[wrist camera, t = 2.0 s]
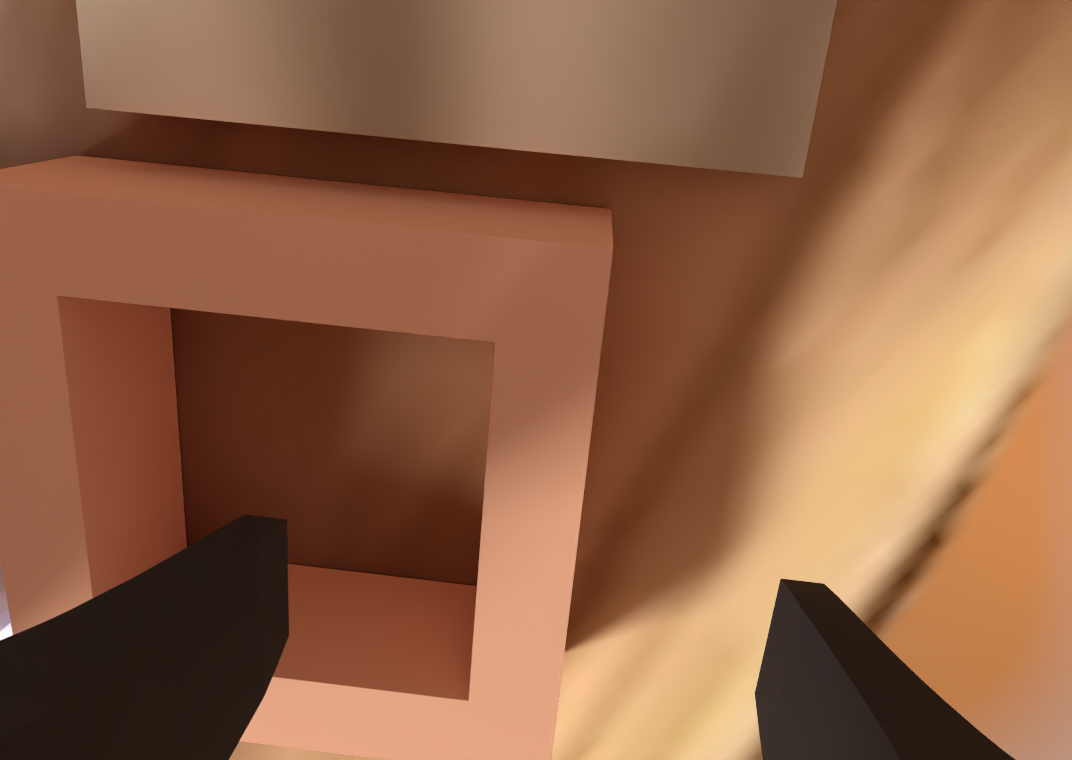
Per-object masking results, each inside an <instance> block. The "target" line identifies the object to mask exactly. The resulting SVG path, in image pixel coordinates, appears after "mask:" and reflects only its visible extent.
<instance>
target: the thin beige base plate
mask: <svg viewBox="0 0 1072 760" xmlns="http://www.w3.org/2000/svg"><path fill="white" fill-rule="evenodd" d="M836 5H837V0H76V7H77V17H78V27H79V37H80V48H81V58H82V68H83V78H84V89H85V99H86V108H93V109H104V110H114V111H124V112H134V113H145V114H155V115H165V116H175V117H185V118H196V119H206V120H216V121H226V122H236V123H247V124H257V125H267V126H277V127H287V128H298V129H308V130H318V131H328V132H338V133H349V134H359V135H369V136H379V137H390V138H400V139H410V140H420V141H430V142H441V143H451V144H461V145H471V146H481V147H492V148H502V149H512V150H522V151H532V152H543V153H553V154H563V155H573V156H583V157H594V158H604V159H614V160H624V161H634V162H645V163H655V164H665V165H675V166H686V167H696V168H706V169H716V170H726V171H737V172H747V173H757V174H767V175H777V176H788V177H798V178H803V173H804V168H805V163H806V158H807V153H808V148H809V143H810V138H811V133H812V127H813V122H814V117H815V112H816V107H817V102H818V97H819V92H820V87H821V82H822V76H823V71H824V66H825V61H826V56H827V51H828V46H829V41H830V36H831V31H832V25H833V20H834V15H835V10H836Z"/></svg>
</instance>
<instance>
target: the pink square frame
mask: <svg viewBox="0 0 1072 760" xmlns="http://www.w3.org/2000/svg"><path fill="white" fill-rule="evenodd" d="M612 256H613V232H612V213H611V209H607V208H597V207H587V206H577V205H567V204H557V203H547V202H537V201H527V200H517V199H507V198H497V197H487V196H477V195H467V194H457V193H447V192H437V191H427V190H417V189H407V188H397V187H387V186H377V185H367V184H357V183H347V182H337V181H327V180H317V179H307V178H297V177H287V176H277V175H267V174H257V173H247V172H237V171H227V170H217V169H207V168H197V167H188V166H178V165H168V164H158V163H148V162H138V161H128V160H118V159H108V158H98V157H88V156H78V155H76V156H70V157H65V158H59V159H53V160H48V161H42V162H37V163H31V164H26V165H20V166H14V167H9V168H3V169H0V559H1V565H2V571H3V578H4V584H5V590H6V596H7V602H8V609H9V615H10V621H11V627H12V633H13V635H14V634H17V633H19V632H22V631H24V630H27V629H29V628H31V627H34V626H36V625H38V624H40V623H43V622H45V621H47V620H49V619H52V618H54V617H56V616H58V615H60V614H62V613H64V612H67V611H69V610H71V609H73V608H75V607H77V606H79V605H81V604H83V603H84V602H86V601H88V600H90V599H92V598H94V597H96V596H98V595H100V594H102V593H104V592H106V591H108V590H110V589H112V588H114V587H116V586H118V585H120V584H122V583H124V582H126V581H128V580H130V579H131V578H133V577H135V576H137V575H139V574H141V573H142V572H144V571H146V570H148V569H150V568H151V567H153V566H155V565H157V564H158V563H160V562H162V561H164V560H166V559H167V558H169V557H171V556H173V555H174V554H176V553H178V552H180V551H182V550H183V549H185V548H187V542H186V528H185V513H184V499H183V485H182V470H181V456H180V441H179V427H178V412H177V398H176V384H175V369H174V355H173V340H172V326H171V311H170V308H177V309H187V310H196V311H206V312H215V313H224V314H234V315H243V316H252V317H262V318H271V319H281V320H290V321H299V322H309V323H318V324H327V325H337V326H346V327H355V328H365V329H374V330H384V331H393V332H402V333H412V334H421V335H430V336H440V337H449V338H459V339H468V340H477V341H487V342H495V350H494V363H493V377H492V390H491V404H490V417H489V431H488V444H487V458H486V472H485V485H484V499H483V512H482V526H481V539H480V553H479V566H478V580H477V586H472V585H463V584H455V583H446V582H438V581H429V580H421V579H412V578H404V577H395V576H387V575H378V574H370V573H361V572H353V571H345V570H336V569H328V568H319V567H311V566H302V565H294V564H288V602H289V637H288V639H287V642H286V645H285V647H284V650H283V652H282V655H281V657H280V660H279V662H278V665H277V668H276V670H275V672H274V675H273V677H272V679H271V682H270V684H269V687H268V689H267V691H266V694H265V696H264V698H263V700H262V701H261V703H260V705H259V707H258V709H257V711H256V712H255V714H254V716H253V718H252V719H251V721H250V723H249V725H248V727H247V728H246V730H245V732H244V734H243V735H242V737H241V739H240V741H243V742H251V743H259V744H267V745H275V746H283V747H290V748H298V749H306V750H314V751H322V752H330V753H338V754H346V755H354V756H362V757H370V758H378V759H386V760H551V759H552V751H553V743H554V735H555V726H556V718H557V710H558V702H559V693H560V685H561V677H562V669H563V660H564V652H565V644H566V636H567V627H568V619H569V611H570V603H571V594H572V586H573V578H574V570H575V561H576V553H577V545H578V537H579V529H580V520H581V512H582V504H583V496H584V487H585V479H586V471H587V463H588V454H589V446H590V438H591V430H592V421H593V413H594V405H595V397H596V388H597V380H598V372H599V364H600V355H601V347H602V339H603V331H604V322H605V314H606V306H607V298H608V289H609V281H610V273H611V265H612Z"/></svg>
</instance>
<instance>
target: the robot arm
mask: <svg viewBox="0 0 1072 760" xmlns="http://www.w3.org/2000/svg"><path fill="white" fill-rule="evenodd" d="M288 637H289V602H288V554H287V520H285V519H276V518H268V517H260V516H251V515H245V516H243V517H241V518H239V519H237V520H235V521H233V522H231V523H229V524H227V525H225V526H224V527H222V528H220V529H218V530H216V531H215V532H213V533H211V534H209V535H208V536H206V537H204V538H202V539H201V540H199V541H197V542H195V543H194V544H192V545H190V546H189V547H187V548H185V549H183V550H182V551H180V552H178V553H176V554H174V555H173V556H171V557H169V558H167V559H166V560H164V561H162V562H160V563H158V564H157V565H155V566H153V567H151V568H150V569H148V570H146V571H144V572H142V573H141V574H139V575H137V576H135V577H133V578H131V579H130V580H128V581H126V582H124V583H122V584H120V585H118V586H116V587H114V588H112V589H110V590H108V591H106V592H104V593H102V594H100V595H98V596H96V597H94V598H92V599H90V600H88V601H86V602H84V603H83V604H81V605H79V606H77V607H75V608H73V609H71V610H69V611H67V612H64V613H62V614H60V615H58V616H56V617H54V618H52V619H49V620H47V621H45V622H43V623H40V624H38V625H36V626H34V627H31V628H29V629H27V630H24V631H22V632H19V633H17V634H14V635H13V633H12V627H11V621H10V615H9V609H8V602H7V596H6V590H5V584H4V578H3V571H2V565H1V559H0V760H229V758H230V756H231V755H232V753H233V751H234V749H235V748H236V746H237V744H238V742H239V741H240V739H241V737H242V735H243V734H244V732H245V730H246V728H247V727H248V725H249V723H250V721H251V719H252V718H253V716H254V714H255V712H256V711H257V709H258V707H259V705H260V703H261V701H262V700H263V698H264V696H265V694H266V691H267V689H268V687H269V684H270V682H271V679H272V677H273V675H274V672H275V670H276V668H277V665H278V662H279V660H280V657H281V655H282V652H283V650H284V647H285V645H286V642H287V639H288ZM755 698H756V707H757V716H758V725H759V733H760V741H761V748H762V755H763V760H1015V759H1014V758H1012V757H1011V756H1010V755H1008V754H1007V753H1006V752H1004V751H1003V750H1002V749H1000V748H999V747H998V746H997V745H996V744H994V743H993V742H992V741H991V740H989V739H988V738H987V737H986V736H985V735H983V734H982V733H981V732H979V731H978V730H977V729H976V728H975V727H974V726H973V725H972V724H970V723H969V722H968V721H967V720H966V719H965V718H964V717H962V716H961V715H960V714H959V713H958V712H957V711H956V710H954V709H953V708H952V707H951V706H950V705H949V704H947V703H946V702H945V701H944V700H943V699H942V698H941V697H940V696H939V695H937V694H936V693H935V692H934V691H933V690H932V689H931V688H930V687H929V686H928V685H926V684H925V683H924V682H923V681H922V680H921V679H920V678H919V677H918V676H917V675H916V674H915V673H914V672H913V671H912V670H910V668H909V667H907V665H906V664H905V663H903V662H902V661H901V660H900V659H899V658H898V657H897V656H896V655H895V654H894V653H893V652H892V651H891V650H890V649H889V648H888V647H887V646H886V645H885V644H884V643H883V642H882V641H881V640H880V639H879V638H878V637H877V636H876V635H875V634H874V633H873V632H872V631H871V630H870V629H869V628H868V627H867V626H866V625H865V624H864V623H863V622H862V621H861V620H860V619H859V618H858V617H857V616H856V614H855V613H854V612H853V611H852V610H851V609H850V608H849V607H848V606H847V605H846V604H845V603H844V602H843V601H842V600H841V599H840V598H839V597H838V596H837V595H835V594H834V593H833V592H832V591H831V590H830V589H829V588H828V587H827V586H826V585H825V584H821V583H813V582H804V581H796V580H787V579H781V580H780V584H779V589H778V593H777V598H776V602H775V607H774V611H773V616H772V620H771V624H770V629H769V633H768V638H767V642H766V647H765V651H764V656H763V660H762V664H761V669H760V673H759V678H758V682H757V687H756V691H755Z"/></svg>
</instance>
